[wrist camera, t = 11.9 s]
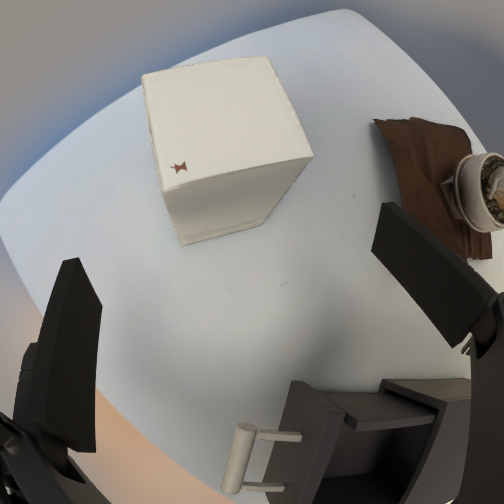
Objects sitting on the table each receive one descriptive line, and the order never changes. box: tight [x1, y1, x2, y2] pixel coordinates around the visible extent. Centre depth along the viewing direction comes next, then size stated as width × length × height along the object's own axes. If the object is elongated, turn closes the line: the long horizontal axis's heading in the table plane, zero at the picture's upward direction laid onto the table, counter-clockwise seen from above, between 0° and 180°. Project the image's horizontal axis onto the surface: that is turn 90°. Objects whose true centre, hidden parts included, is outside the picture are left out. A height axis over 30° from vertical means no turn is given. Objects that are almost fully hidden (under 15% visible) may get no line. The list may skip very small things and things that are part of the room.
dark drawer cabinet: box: [379, 378, 471, 504], centre depth 19 cm, size 15×13×10 cm
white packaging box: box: [141, 56, 314, 246], centre depth 18 cm, size 7×7×13 cm
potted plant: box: [373, 117, 504, 263], centre depth 20 cm, size 20×19×25 cm
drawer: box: [221, 380, 439, 504], centre depth 18 cm, size 18×11×8 cm, turn 78°
